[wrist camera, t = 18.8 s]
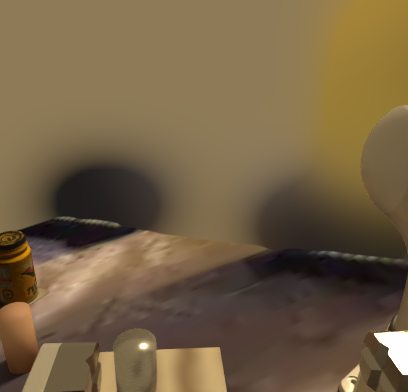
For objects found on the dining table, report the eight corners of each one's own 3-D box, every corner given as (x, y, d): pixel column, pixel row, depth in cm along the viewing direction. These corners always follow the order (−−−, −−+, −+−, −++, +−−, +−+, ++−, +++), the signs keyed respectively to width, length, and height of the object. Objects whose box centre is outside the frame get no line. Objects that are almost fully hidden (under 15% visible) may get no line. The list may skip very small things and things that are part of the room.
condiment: (49, 292, 65) (39, 234, 60) (5, 321, 58) (-10, 258, 53) (22, 279, 68) (11, 223, 63) (-23, 305, 61) (-39, 244, 56)
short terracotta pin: (31, 346, 53) (21, 297, 50) (45, 361, 51) (35, 311, 47) (3, 363, 50) (-10, 312, 47) (16, 379, 48) (4, 327, 44)
